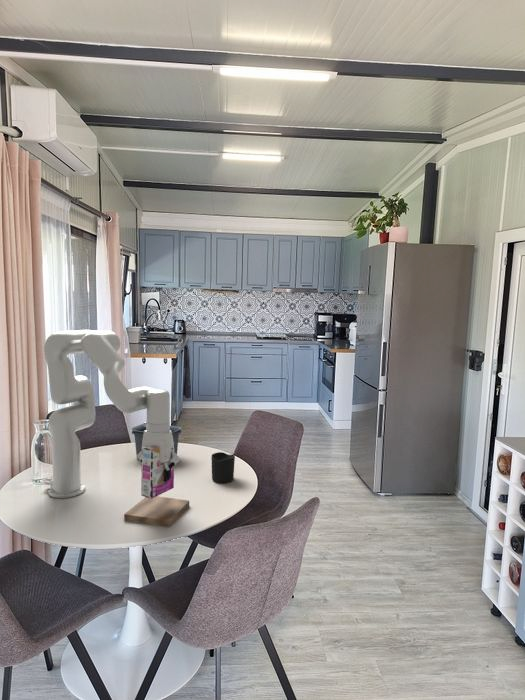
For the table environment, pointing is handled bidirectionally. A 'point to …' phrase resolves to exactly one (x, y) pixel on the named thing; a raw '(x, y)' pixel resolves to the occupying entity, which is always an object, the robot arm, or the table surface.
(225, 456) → the pen holder
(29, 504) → the table surface
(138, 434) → the storage bin
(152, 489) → the candy bar box
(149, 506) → the walnut board
